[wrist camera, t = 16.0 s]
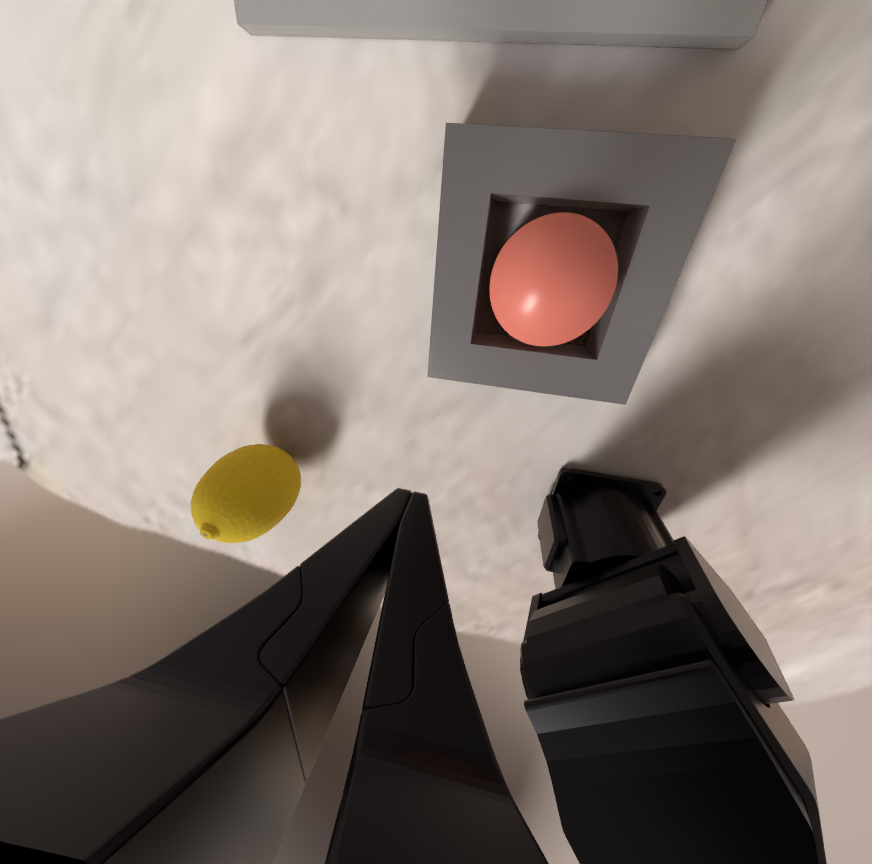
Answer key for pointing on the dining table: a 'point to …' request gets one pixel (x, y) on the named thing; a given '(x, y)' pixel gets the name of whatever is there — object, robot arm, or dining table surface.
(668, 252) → the button frame
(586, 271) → the button
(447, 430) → the dining table surface
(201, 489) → the lemon
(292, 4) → the picture board
